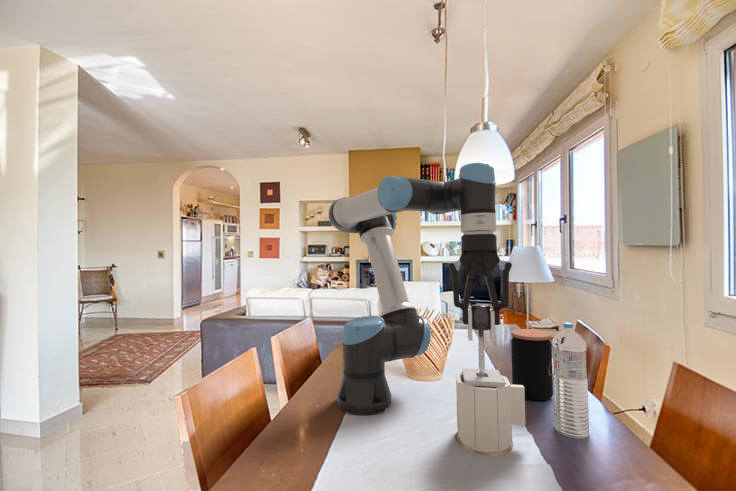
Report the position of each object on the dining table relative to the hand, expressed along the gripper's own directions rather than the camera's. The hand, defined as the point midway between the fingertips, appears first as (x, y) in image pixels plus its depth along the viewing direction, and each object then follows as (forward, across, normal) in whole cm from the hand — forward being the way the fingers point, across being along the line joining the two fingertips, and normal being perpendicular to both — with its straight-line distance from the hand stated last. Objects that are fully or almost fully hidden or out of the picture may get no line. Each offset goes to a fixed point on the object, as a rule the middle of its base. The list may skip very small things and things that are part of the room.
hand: (481, 339), depth 76 cm
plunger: (+15, 0, 0) cm, 15 cm away
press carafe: (+22, +2, 0) cm, 22 cm away
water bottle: (+23, +20, +7) cm, 31 cm away
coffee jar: (+23, +17, +28) cm, 40 cm away
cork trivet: (+22, 0, 0) cm, 22 cm away
